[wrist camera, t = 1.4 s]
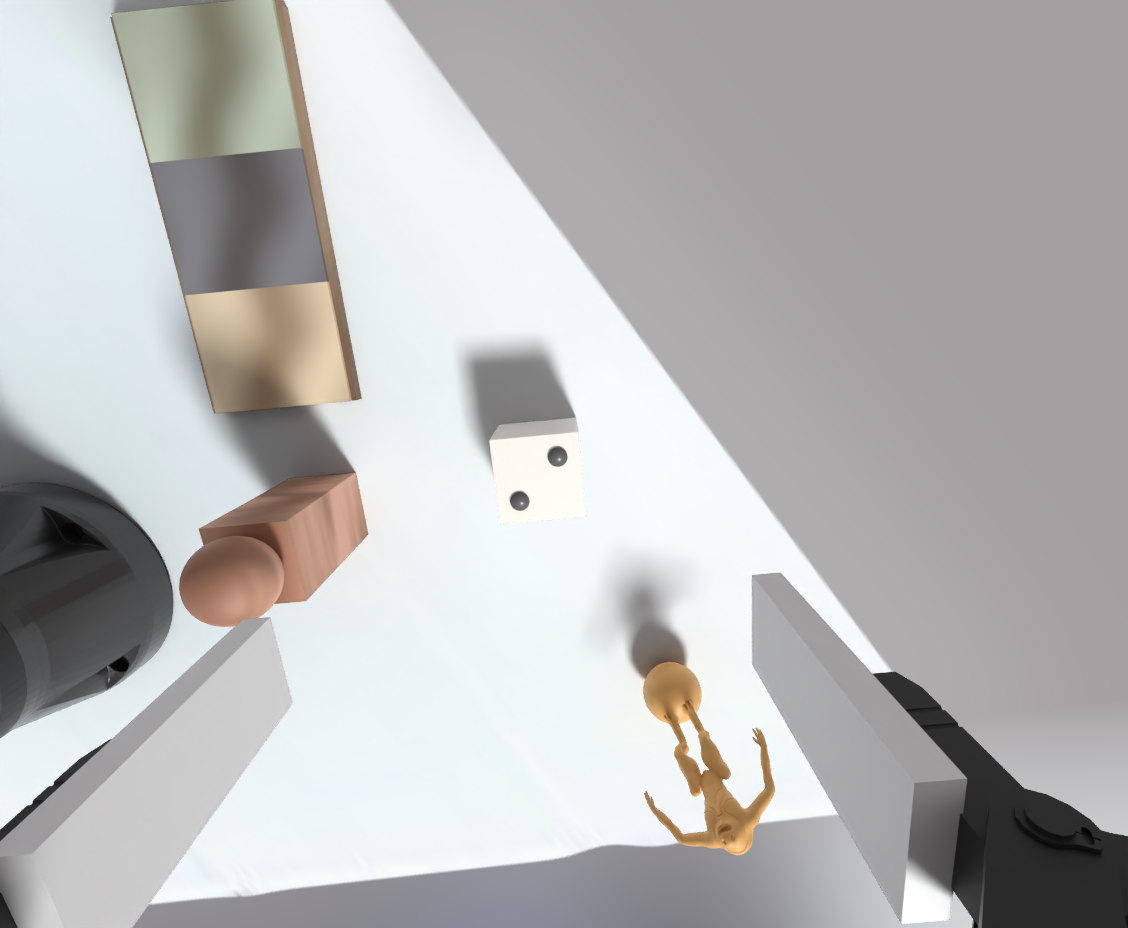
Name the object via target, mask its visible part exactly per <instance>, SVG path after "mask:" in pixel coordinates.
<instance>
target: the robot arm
mask: <svg viewBox="0 0 1128 928" xmlns="http://www.w3.org/2000/svg"><path fill="white" fill-rule="evenodd" d="M172 615H173V596H172V589H171V584H170V581H169V577H168V574H167V572H166V569H165V567H164V564H163V562H162V560H161V559H160V557H159V555H158V553H157V552H156V550H155V548H154V547H153V546H152V544H151V543H150V541H149V540H148V539H147V538H146V536H145V535H144V534H143V533H142V532H141V531H140V530H139V529H138V528H137V527H136V526H135V525H134V524H133V523H132V522H131V521H130V520H129V519H127V518H126V517H125V516H124V515H122V514H121V513H120V512H119V511H117V510H116V509H114V508H113V507H111V506H110V505H108V504H106V503H104V502H103V501H101V500H99V499H97V498H95V497H93V496H90V495H88V494H86V493H83V492H80V491H78V490H75V489H71V488H68V487H63V486H59V485H53V484H44V483H25V484H16V485H11V486H6V487H3V488H0V738H1V737H3V736H4V735H6V734H7V733H9V732H10V731H11V730H13V729H16V728H18V727H20V726H23V725H25V724H28V723H30V722H33V721H35V720H38V719H40V718H42V717H45V716H47V715H50V714H52V713H55V712H57V711H60V710H62V709H64V708H67V707H69V706H72V705H74V704H77V703H79V702H82V701H84V700H86V699H89V698H91V697H94V696H96V695H99V694H101V693H103V692H105V691H107V690H109V689H111V688H113V687H114V686H116V685H118V684H119V683H121V682H122V681H124V680H125V679H126V678H127V677H129V676H130V675H131V674H132V673H134V672H135V671H136V670H137V669H139V668H140V667H141V666H142V665H144V664H145V663H146V662H147V661H149V660H150V659H151V658H152V657H153V656H154V655H155V653H156V652H157V651H158V650H159V648H160V647H161V646H162V644H163V642H164V640H165V638H166V636H167V634H168V631H169V629H170V625H171V621H172ZM752 665H753V666H754V668H755V670H756V672H757V673H758V675H759V677H760V679H761V680H762V682H763V684H764V686H765V687H766V689H767V691H768V693H769V694H770V696H771V698H772V700H773V701H774V703H775V705H776V706H777V708H778V710H779V712H780V713H781V715H782V717H783V719H784V720H785V722H786V724H787V726H788V727H789V729H790V731H791V733H792V734H793V736H794V738H795V740H796V741H797V743H798V745H799V747H800V748H801V750H802V752H803V753H804V755H805V757H806V759H807V760H808V762H809V764H810V766H811V767H812V769H813V771H814V773H815V774H816V776H817V778H818V780H819V781H820V783H821V785H822V787H823V788H824V790H825V792H826V794H827V795H828V797H829V799H830V801H831V802H832V804H833V806H834V807H835V809H836V811H837V813H838V814H839V816H840V818H841V819H842V821H843V823H844V825H845V827H846V828H847V830H848V832H849V833H850V835H851V837H852V839H853V840H854V842H855V844H856V846H857V847H858V849H859V851H860V853H861V854H862V856H863V858H864V860H865V861H866V863H867V865H868V866H869V868H870V870H871V872H872V874H873V875H874V877H875V879H876V881H877V882H878V884H879V886H880V888H881V889H882V891H883V893H884V894H885V896H886V898H887V900H888V901H889V903H890V905H891V907H892V908H893V910H894V912H895V914H896V915H897V917H898V919H899V921H900V922H901V924H905V923H918V922H931V921H944V920H950V915H951V907H952V899H953V891H954V892H955V894H956V895H957V897H958V898H959V899H960V901H961V902H962V904H963V905H964V907H965V908H966V909H967V910H968V912H969V914H970V915H971V916H972V918H973V925H972V928H1128V836H1124V835H1118V834H1113V833H1109V832H1105V831H1101V830H1100V829H1099V828H1098V827H1097V826H1096V825H1095V824H1094V823H1093V822H1092V821H1091V820H1090V819H1089V818H1087V817H1086V816H1084V815H1083V814H1081V813H1080V812H1079V811H1077V810H1076V809H1074V808H1073V807H1071V806H1070V805H1068V804H1066V803H1064V802H1061V801H1059V800H1057V799H1055V798H1053V797H1051V796H1049V795H1047V794H1043V793H1038V792H1035V791H1031V790H1028V789H1024V788H1023V787H1022V786H1021V785H1020V784H1019V783H1018V782H1017V781H1016V780H1015V779H1014V778H1013V777H1012V776H1011V775H1010V774H1009V773H1008V772H1007V771H1006V770H1005V769H1003V767H1002V766H1001V765H1000V764H999V763H998V762H997V761H996V760H995V759H994V758H993V757H992V756H991V755H990V754H989V753H988V752H987V751H986V750H984V748H983V747H982V746H981V745H980V744H979V743H978V742H977V741H976V740H975V739H974V738H973V737H972V736H971V735H970V734H969V733H967V732H966V731H965V729H963V728H962V727H959V726H958V723H957V722H956V721H955V720H954V719H953V718H952V717H951V716H950V715H949V714H948V713H947V712H946V711H945V710H942V708H941V706H940V705H939V704H938V703H937V702H936V701H935V700H934V699H933V698H932V697H931V696H930V695H929V694H928V693H927V692H926V691H925V690H924V689H923V688H922V687H920V686H919V685H917V684H915V683H914V682H912V681H910V680H908V679H907V678H905V677H903V676H902V675H900V674H898V673H896V672H887V673H875V674H872V673H871V672H870V671H869V670H868V669H867V667H866V666H865V665H864V664H863V663H862V662H861V661H860V660H859V659H858V658H857V656H856V655H855V654H854V653H853V652H852V651H851V650H850V649H849V648H848V646H847V645H846V644H845V643H844V642H843V641H842V640H841V639H840V638H839V637H838V635H837V634H836V633H835V632H834V631H833V630H832V629H831V628H830V627H829V626H828V624H827V623H826V622H825V621H824V620H823V619H822V618H821V617H820V616H819V615H818V613H817V612H816V611H815V610H814V609H813V608H812V607H811V606H810V605H809V603H808V602H807V601H806V600H805V599H804V598H803V597H802V596H801V595H800V594H799V592H798V591H797V590H796V589H795V588H794V587H793V586H792V585H791V584H790V583H789V581H788V580H787V579H786V578H785V577H784V576H783V575H782V574H781V573H771V574H760V575H752ZM292 703H293V702H292V699H291V695H290V691H289V687H288V683H287V679H286V676H285V672H284V668H283V664H282V660H281V656H280V653H279V649H278V645H277V641H276V637H275V633H274V630H273V626H272V622H271V618H270V617H268V618H257V619H245V620H242V621H241V622H240V623H239V624H237V625H236V626H235V627H234V628H233V629H232V630H231V631H230V632H229V633H228V634H226V635H225V636H224V637H223V638H222V639H221V640H220V641H219V642H218V643H217V644H216V645H214V646H213V647H212V648H211V649H210V650H209V651H208V652H207V653H206V654H205V655H204V656H202V657H201V658H200V659H199V660H198V661H197V662H196V663H195V664H194V665H193V666H191V667H190V668H189V669H188V670H187V671H186V672H185V673H184V674H183V675H182V676H181V677H179V678H178V679H177V680H176V681H175V682H174V683H173V684H172V685H171V686H170V687H169V688H167V689H166V690H165V691H164V692H163V693H162V694H161V695H160V696H159V697H158V698H156V699H155V700H154V701H153V702H152V703H151V704H150V705H149V706H148V707H147V708H146V709H144V710H143V711H142V712H141V713H140V714H139V715H138V716H137V717H136V718H135V719H134V720H132V721H131V722H130V723H129V724H128V725H127V726H126V727H125V728H124V729H123V730H121V731H120V732H119V733H118V734H117V735H116V736H115V737H114V738H113V739H110V740H108V741H107V742H105V743H104V744H102V745H101V746H99V747H98V748H96V749H94V750H93V751H91V752H90V753H88V754H87V755H85V756H84V757H82V758H80V759H79V760H78V761H77V762H76V763H74V764H73V765H72V766H71V767H70V768H69V769H68V770H67V771H66V772H64V773H63V774H62V775H61V776H60V777H59V778H58V779H57V780H55V781H54V785H53V786H49V787H48V788H46V789H45V790H44V791H43V792H42V793H41V794H40V795H39V796H38V797H36V798H35V799H34V800H33V803H32V805H28V806H26V807H25V808H24V809H23V810H22V811H21V812H20V813H19V814H17V815H16V816H15V817H14V818H13V819H12V820H11V821H10V822H8V823H7V824H6V825H5V826H4V827H3V828H2V829H1V830H0V928H132V927H133V926H134V924H135V923H136V921H137V920H138V919H139V917H140V916H141V914H142V913H143V912H144V910H145V909H146V908H147V906H148V905H149V903H150V902H151V901H152V899H153V898H154V896H155V895H156V894H157V892H158V891H159V889H160V888H161V887H162V885H163V884H164V882H165V881H166V880H167V878H168V877H169V875H170V874H171V873H172V871H173V870H174V868H175V867H176V866H177V864H178V863H179V861H180V860H181V859H182V857H183V856H184V854H185V853H186V852H187V850H188V849H189V847H190V846H191V845H192V843H193V842H194V840H195V839H196V838H197V836H198V835H199V833H200V832H201V831H202V829H203V828H204V826H205V825H206V824H207V822H208V821H209V819H210V818H211V817H212V815H213V814H214V812H215V811H216V810H217V808H218V807H219V805H220V804H221V803H222V801H223V800H224V799H225V797H226V796H227V794H228V793H229V792H230V790H231V789H232V787H233V786H234V785H235V783H236V782H237V780H238V779H239V778H240V776H241V775H242V773H243V772H244V771H245V769H246V768H247V766H248V765H249V764H250V762H251V761H252V759H253V758H254V757H255V755H256V754H257V752H258V751H259V750H260V748H261V747H262V745H263V744H264V743H265V741H266V740H267V738H268V737H269V736H270V734H271V733H272V731H273V730H274V729H275V727H276V726H277V724H278V723H279V722H280V720H281V719H282V717H283V716H284V715H285V713H286V712H287V710H288V709H289V708H290V706H291V705H292Z"/></svg>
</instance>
